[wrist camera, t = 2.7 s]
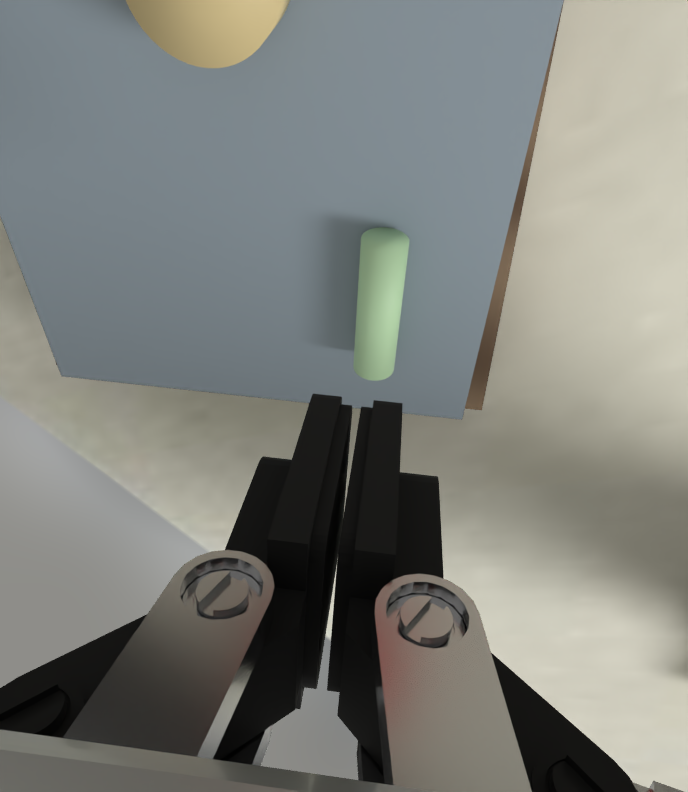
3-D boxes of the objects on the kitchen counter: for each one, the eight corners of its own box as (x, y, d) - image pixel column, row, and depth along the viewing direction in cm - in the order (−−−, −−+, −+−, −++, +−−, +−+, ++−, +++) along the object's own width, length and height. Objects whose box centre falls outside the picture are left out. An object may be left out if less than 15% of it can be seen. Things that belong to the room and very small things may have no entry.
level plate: (461, 400, 28) (463, 454, 25) (73, 359, 29) (41, 407, 27) (597, -178, 14) (624, -173, 12) (-131, -214, 16) (-231, -216, 13)
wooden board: (474, 371, 31) (481, 410, 28) (93, 332, 33) (56, 364, 29) (570, -136, 22) (598, -171, 18) (21, -166, 23) (-48, -204, 20)
